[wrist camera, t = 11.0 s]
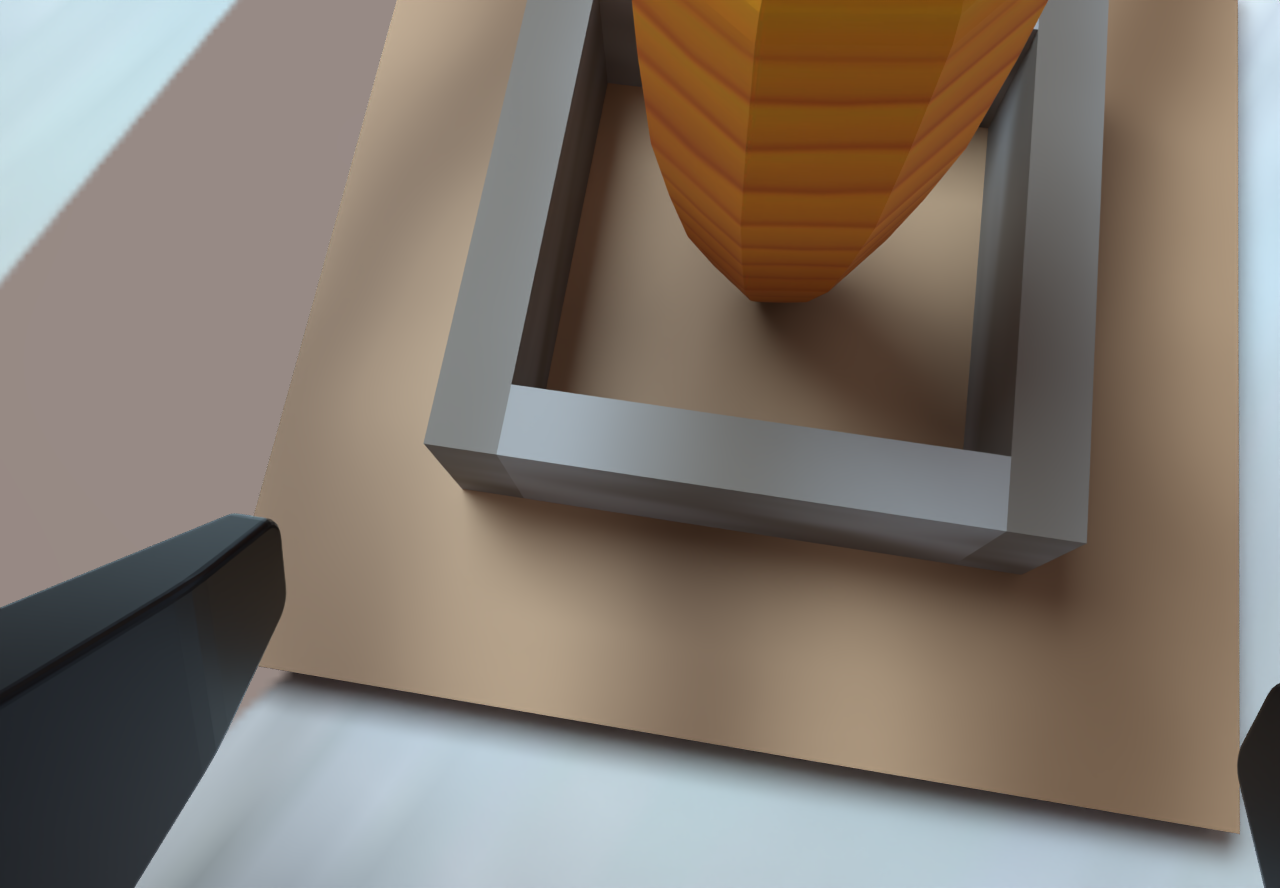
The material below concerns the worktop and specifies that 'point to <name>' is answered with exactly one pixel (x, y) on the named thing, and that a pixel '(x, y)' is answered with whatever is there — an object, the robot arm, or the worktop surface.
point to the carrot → (814, 121)
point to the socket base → (788, 423)
